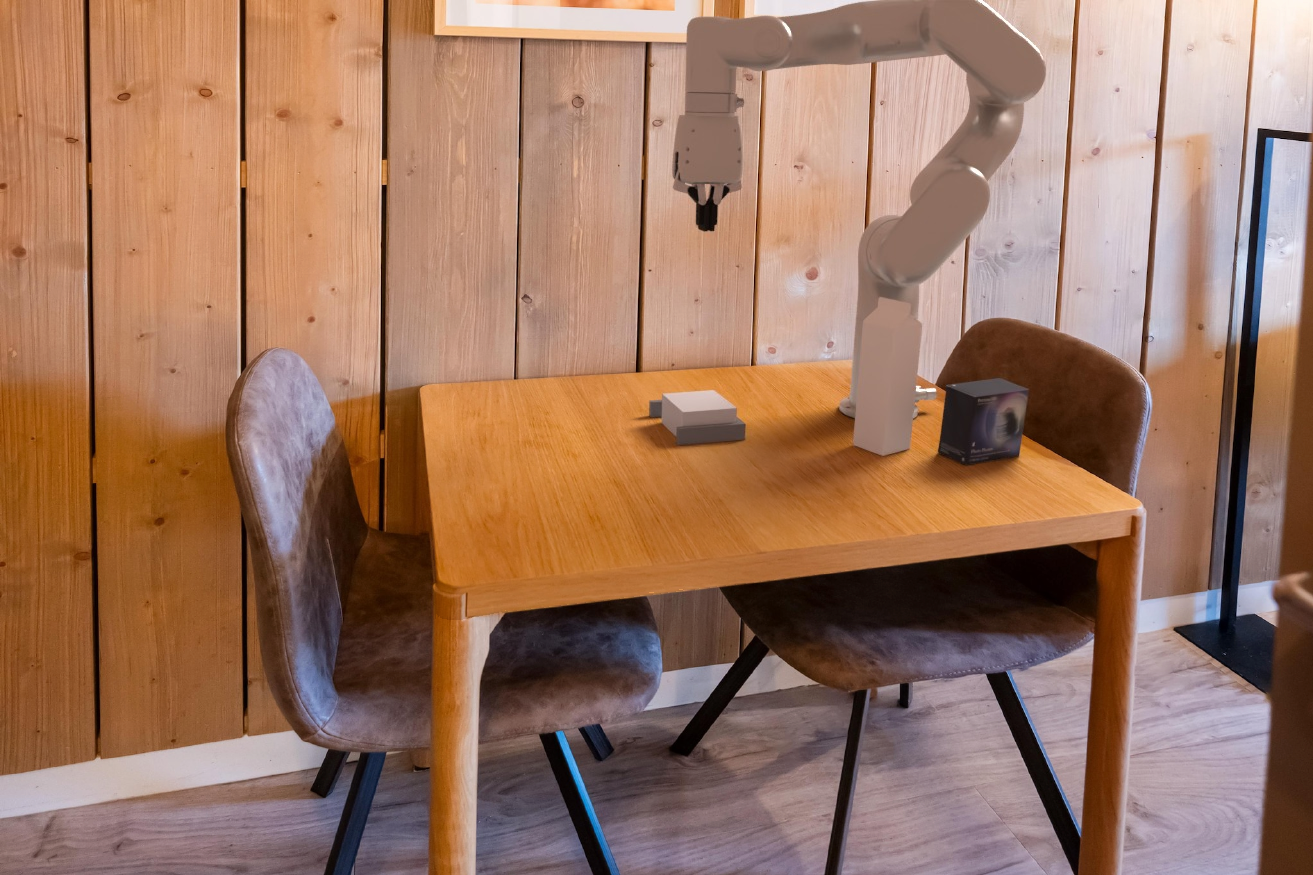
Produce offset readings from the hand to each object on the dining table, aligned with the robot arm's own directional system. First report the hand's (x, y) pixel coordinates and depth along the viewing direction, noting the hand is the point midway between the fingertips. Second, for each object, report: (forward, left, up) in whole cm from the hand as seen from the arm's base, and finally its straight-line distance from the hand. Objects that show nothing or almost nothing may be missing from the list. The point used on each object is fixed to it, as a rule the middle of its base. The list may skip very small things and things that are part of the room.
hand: (706, 230), depth 165 cm
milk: (-20, +24, -29) cm, 43 cm away
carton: (+4, +10, -29) cm, 31 cm away
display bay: (+4, +8, -29) cm, 30 cm away
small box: (-32, +31, -29) cm, 53 cm away
